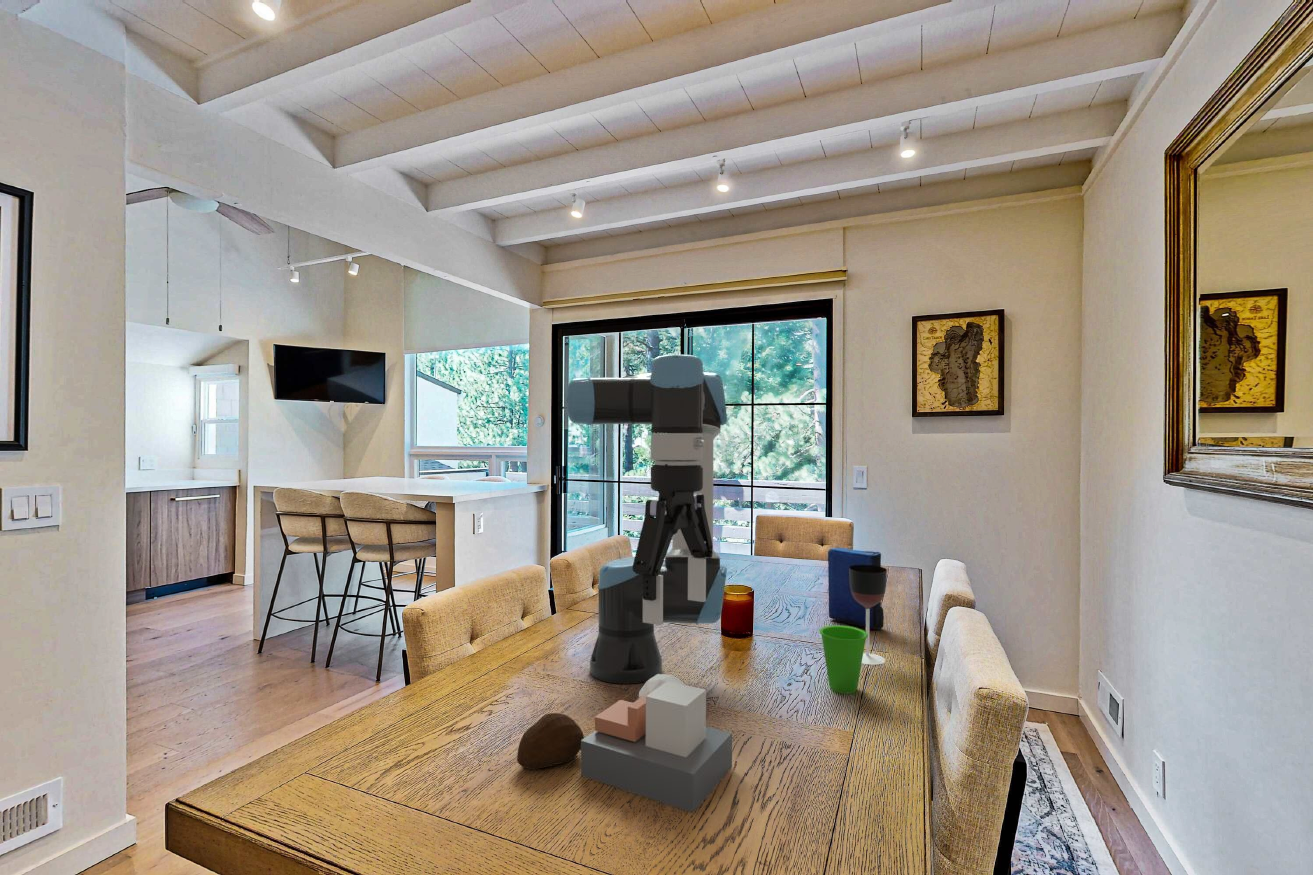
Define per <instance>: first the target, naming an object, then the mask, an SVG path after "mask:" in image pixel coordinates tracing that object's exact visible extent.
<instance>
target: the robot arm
mask: <svg viewBox="0 0 1313 875" xmlns="http://www.w3.org/2000/svg"><path fill="white" fill-rule="evenodd" d="M703 365H704V364H703V360H702V359H701V358H700V357H699V356H695V355H691V354H666V355H659V356H657V357H655V358H654V359H653V360H652V362H651V372H647V373H642V374H637V375H632V376H631V375H629V376H625V377H583V378H582V377H581V378H573V379H572V380H570V381H569V384H568V386H567V387H566V388H567V390H566V393H565V394H566V397H565V398H566V400H565V401H566V402H565V404H566V412H567V417H568V418H569V421H571V423H573V424H576V425H577V424H580V425H581V424H582V425H587V426H588V425H589V426H591V425H629V424H631V425H651V428H650V431H651V432H650V461H653V462H654V464H652V465H651V467H650V489H651V490H652V491H654V492H658V500H657V499H647V500H646V501H645V508H644V518H643V523H642V528H641V531H640V535H639V539H638V543H637V547H636V552H635V556H629V557H623V558H618V559H614V560H610V561H608V562H606V563H604V564H603V565H602V566H601V568H600V570H599V574H598V575H599V576H598V585H597V589H598V635H597V637H596V640H595V643H594V648H593V650H592V653H591V657H590V661H589V672H590V674H591V676H592V677H594V678H595V679H597V680H598V681H599V680H600V681H602V682H604V683H605V682H606V683H610V684H621V685H623V684H624V685H625V684H626V685H627V684H638V683H642V682H643V683H644V682H647V681H648V680H649V679H651V678H652V677H654V676H655V675H657V674H662V671H663V659H662V658H663V657H662V655H661V653H660V649H659V646H658V642H657V639H656V637H655V636H656V635H655V631H654V630H655V628H654V627H655V625H656V626H661V625H663V624H664V623H670V624H671V623H674V624H695V625H700V624H715V623H718V622H719V620H720V619H721V616H722V609H723V603H724V594H725V588H726V587H725V586H726V579H727V570H728V569H727V567H726V566H724V565H721V557H720V556H719V555H718V554H717V552H716V551H715V550H714V440H715V438H716V437H717V436H719V434H720V433H721V426H724V425H726V424H727V422H728V416H727V415H728V414H727V407H726V397H725V390H724V385H723V379H722V377H721V376H720V374H718V373H716V372H708V371H707V372H706V371H704V366H703ZM671 542H672V543H671ZM670 544H672V547H671V549H670V550H669V547H670ZM668 550H669V552H668Z"/></svg>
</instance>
